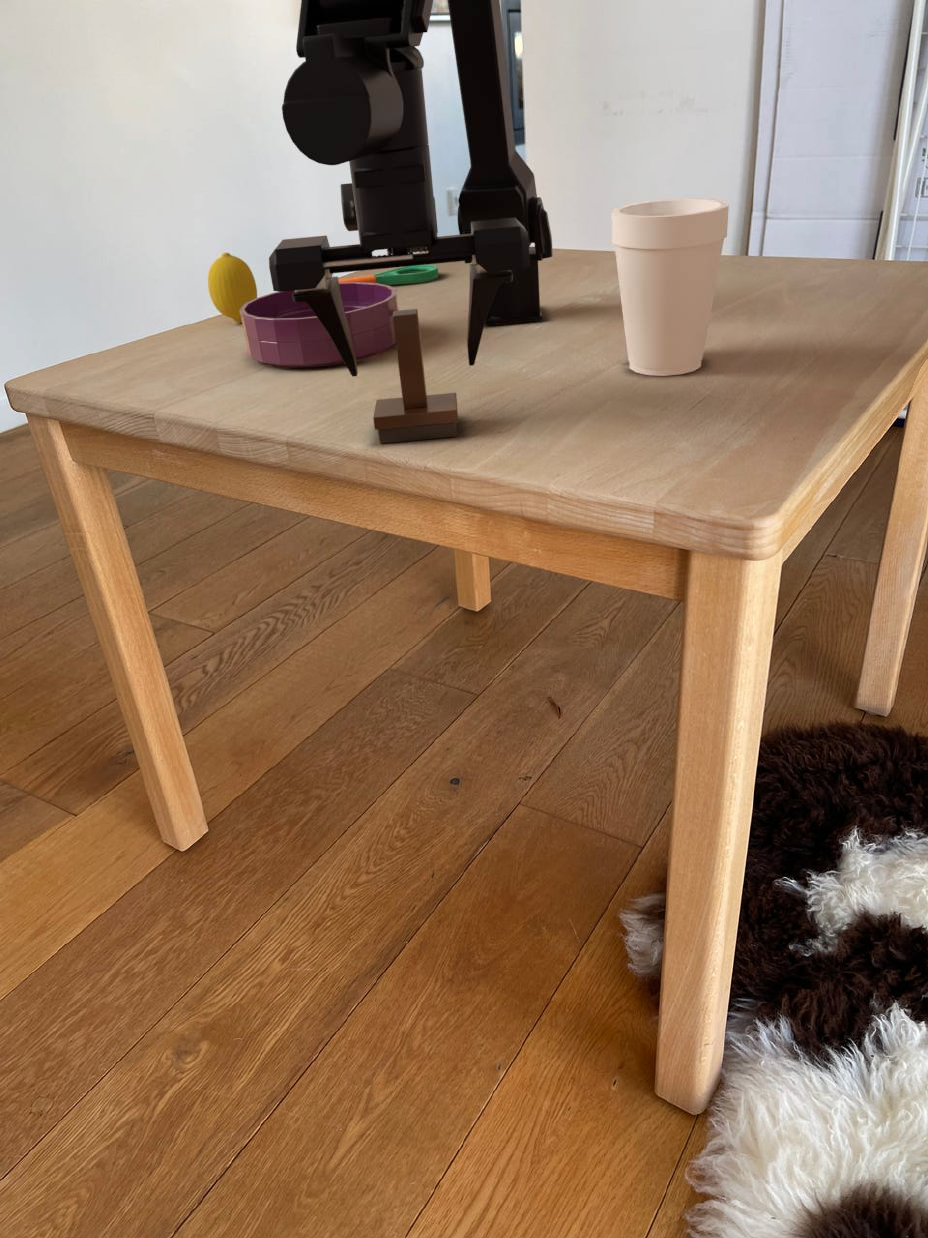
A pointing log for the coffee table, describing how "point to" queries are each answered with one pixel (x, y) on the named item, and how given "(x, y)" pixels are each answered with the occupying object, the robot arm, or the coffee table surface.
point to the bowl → (318, 326)
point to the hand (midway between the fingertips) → (413, 369)
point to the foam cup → (668, 279)
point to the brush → (413, 393)
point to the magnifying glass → (399, 275)
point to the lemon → (231, 285)
